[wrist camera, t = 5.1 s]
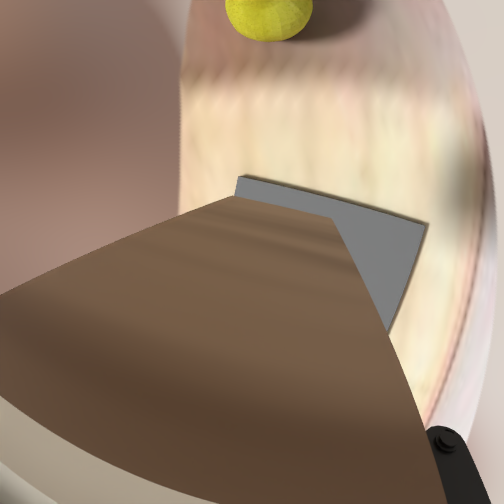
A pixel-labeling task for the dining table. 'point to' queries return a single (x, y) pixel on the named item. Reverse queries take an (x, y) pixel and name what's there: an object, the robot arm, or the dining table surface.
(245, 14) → the fruit
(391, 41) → the dining table surface
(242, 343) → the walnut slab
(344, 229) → the felt pad
